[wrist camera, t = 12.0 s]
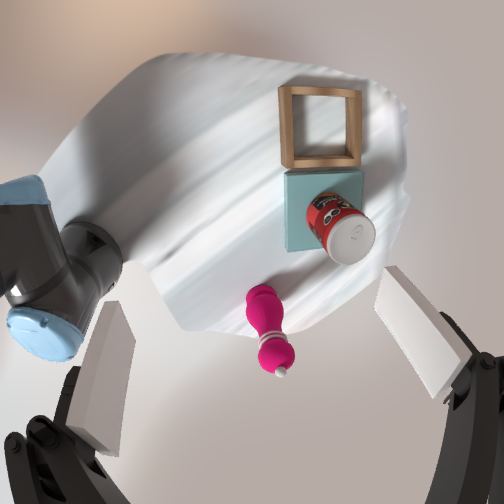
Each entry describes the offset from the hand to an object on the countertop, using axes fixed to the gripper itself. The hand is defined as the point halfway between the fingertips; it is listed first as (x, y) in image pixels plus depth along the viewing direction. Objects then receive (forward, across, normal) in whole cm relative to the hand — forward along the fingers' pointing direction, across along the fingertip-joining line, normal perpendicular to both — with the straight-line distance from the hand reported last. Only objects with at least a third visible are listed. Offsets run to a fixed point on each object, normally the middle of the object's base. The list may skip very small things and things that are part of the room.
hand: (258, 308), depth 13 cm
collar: (+34, -16, -6) cm, 38 cm away
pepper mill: (+34, -5, +28) cm, 44 cm away
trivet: (+34, -17, +9) cm, 39 cm away
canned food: (+32, -17, +9) cm, 38 cm away
